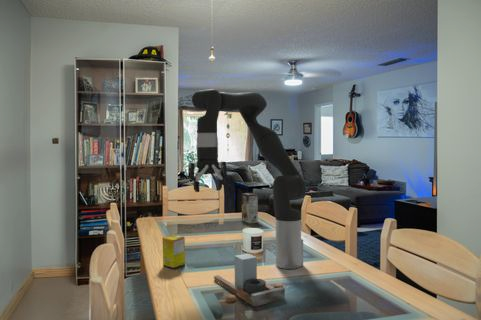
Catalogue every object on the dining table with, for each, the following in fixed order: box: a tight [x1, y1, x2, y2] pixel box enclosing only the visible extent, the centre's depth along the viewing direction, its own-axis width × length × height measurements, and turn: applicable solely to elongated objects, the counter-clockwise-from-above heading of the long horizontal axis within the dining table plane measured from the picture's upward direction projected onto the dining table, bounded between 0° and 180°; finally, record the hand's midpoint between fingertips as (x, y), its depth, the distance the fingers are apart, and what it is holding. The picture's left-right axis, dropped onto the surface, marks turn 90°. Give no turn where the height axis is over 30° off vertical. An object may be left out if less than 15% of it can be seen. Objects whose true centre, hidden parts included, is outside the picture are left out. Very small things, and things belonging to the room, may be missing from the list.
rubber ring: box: [244, 278, 267, 295], centre depth 118 cm, size 6×6×4 cm
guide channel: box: [213, 275, 286, 307], centre depth 122 cm, size 20×24×3 cm
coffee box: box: [241, 192, 259, 224], centre depth 226 cm, size 9×6×16 cm
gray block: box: [234, 253, 258, 291], centre depth 122 cm, size 5×5×10 cm
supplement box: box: [162, 234, 186, 270], centre depth 145 cm, size 6×6×11 cm
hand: (208, 191), depth 141 cm, fingers open, 8 cm apart
